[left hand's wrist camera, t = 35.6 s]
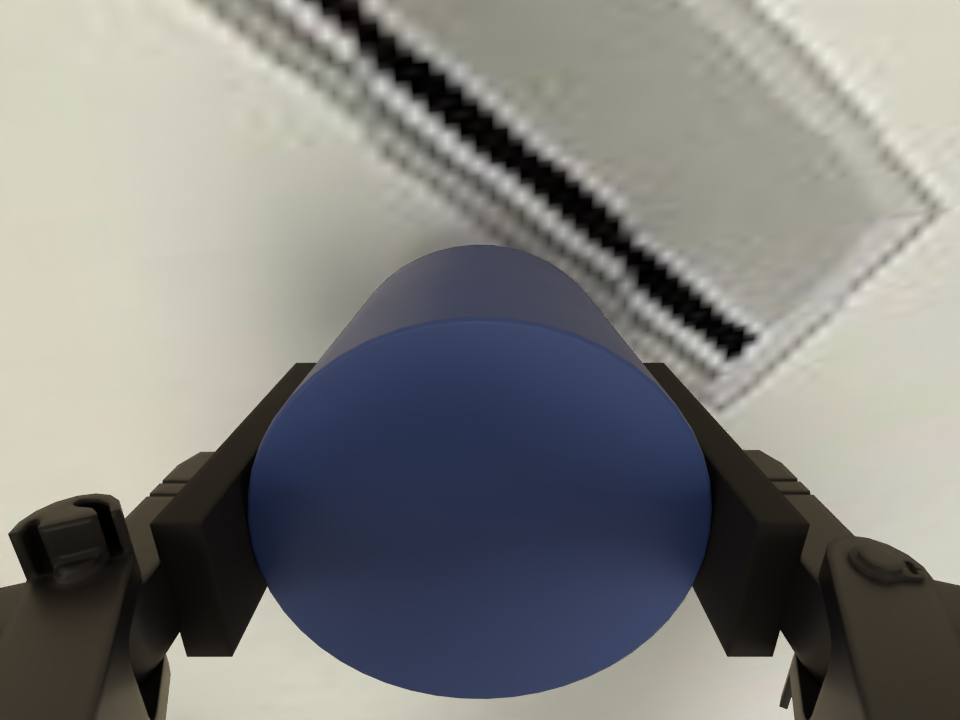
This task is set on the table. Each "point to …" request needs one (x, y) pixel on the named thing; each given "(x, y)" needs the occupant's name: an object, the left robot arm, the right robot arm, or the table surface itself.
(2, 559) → the table surface
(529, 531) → the canister
